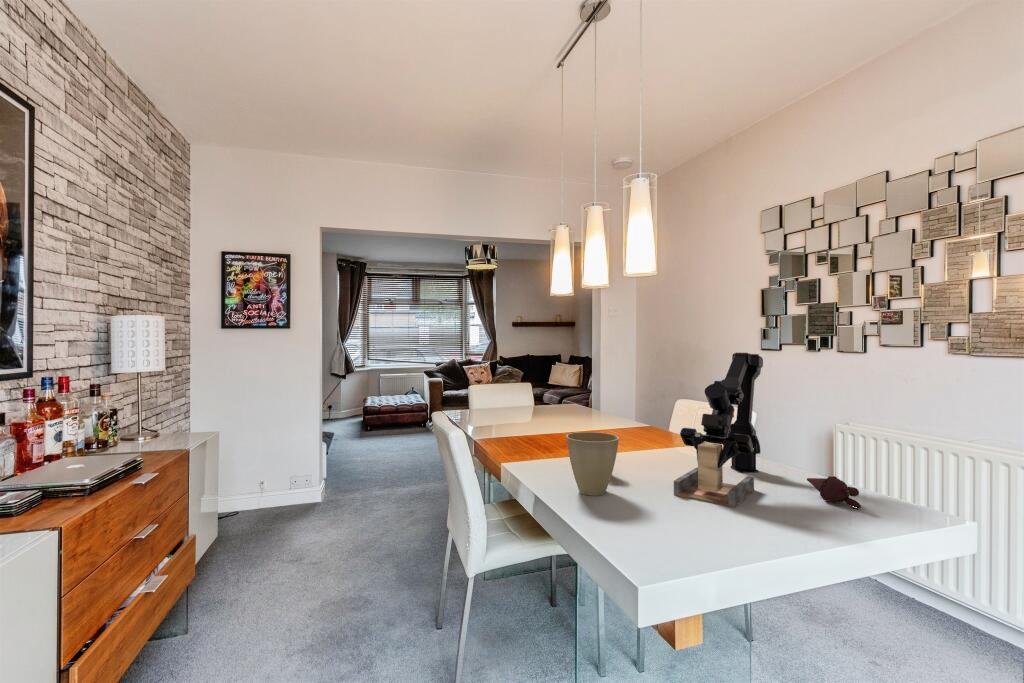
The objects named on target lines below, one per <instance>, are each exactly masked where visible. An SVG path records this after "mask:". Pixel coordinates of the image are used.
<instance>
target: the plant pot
mask: <svg viewBox="0 0 1024 683" xmlns="http://www.w3.org/2000/svg"><path fill="white" fill-rule="evenodd" d="M565 436H566V443H567V444H566V445H567V450H568V456H569V462H570V465H571V469H572V473H573V476H574V480H575V483H576V485H577V488H578V491H579V493H580V494H581V495H582V494H583V495H586V496H590V495H591V496H597V495H599V496H602V495H605V494H606V492H607V489H608V488H609V487H608V486H609V484H610V482H611V478H612V474H613V471H614V468H615V464H616V458H617V453H618V448H619V440H620V439H619V436H618V435H616V434H612V433H608V432H595V431H579V432H570V433H568V434H566V435H565Z"/></svg>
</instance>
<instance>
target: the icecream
mask: <svg viewBox="0 0 1024 683" xmlns="http://www.w3.org/2000/svg"><path fill="white" fill-rule="evenodd" d="M806 481H807V482H808V483H810V485H811V486H813V487H814V488H815V489H816V490H817V491H818V492H819V495H820V497H821V498H822V499H823V501H825V500H829V502H831V501H832V503H835V502H841V503H843V502H845V504H846V505H848V504H849V505H851V506H854V507H857V508H860V509H861V508H862V506H861V504H860V503H859V501H857V500H856V499H853V498H851V497H858V496H859V495H860V491H859V490H860V489H858V488H857V487H853V486H848V485H847V483H846V482H844V481H843V480H842V479H840V478H838V477H837V476H835V475H834V476H831V475H830V476H828V477H827V478H825V477H823V478H822V477H821V478H820V477H815V478H814V477H813V478H812V477H809V478H808V477H807V478H806ZM849 505H848V506H849ZM851 506H850V507H851Z"/></svg>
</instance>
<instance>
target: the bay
mask: <svg viewBox="0 0 1024 683" xmlns="http://www.w3.org/2000/svg"><path fill="white" fill-rule="evenodd" d="M753 490H754V491H755V476H754V475H749V474H747V476H745V477H744V478H743V479H742V480H741V481H739V482H738V483H737V484H732V483H727V482H723V488H722V489H720V490H719V491H718V492H714V491H708V490H703V489H698V466H697V467H695V468H693V469H692V470H690V471H688V472H686V473H685V474H683V475H681V476H679V477H677V478H676V479H675V480H673V496H677V497H681V498H686V499H690V500H697V501H701V502H704V503H705V502H706V503H710V504H715V505H719V506H725V507H730V508H734V509H735V508H736V507H737V506H739V504H741V503H742V502H743V501H744V500H745V499H747V497H748V496H749V495H750V494H752V492H754V491H753Z"/></svg>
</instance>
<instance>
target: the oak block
mask: <svg viewBox="0 0 1024 683" xmlns="http://www.w3.org/2000/svg"><path fill="white" fill-rule="evenodd" d="M722 449H723V444H715V443H708V442H704V443H702V444H700V445H698V461H697V467H698V489H703V490H708V491H714V492H718V491H719V490H720V489H722V488H723V483H724V482H723V481H724V480H723V479H724V478H723V465H722V466H721V467H720V468H718V461H719V458H720V455H721V452H722Z"/></svg>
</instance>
